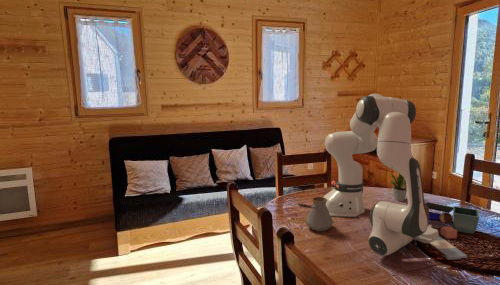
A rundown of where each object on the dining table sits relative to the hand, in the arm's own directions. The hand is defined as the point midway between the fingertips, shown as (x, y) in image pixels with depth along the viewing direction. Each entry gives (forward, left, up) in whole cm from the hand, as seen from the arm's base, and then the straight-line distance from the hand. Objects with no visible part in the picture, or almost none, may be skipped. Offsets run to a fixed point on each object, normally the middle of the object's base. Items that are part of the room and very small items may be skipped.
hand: (417, 222), depth 133 cm
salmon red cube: (+11, -3, -6) cm, 13 cm away
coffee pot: (-40, +10, -6) cm, 41 cm away
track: (+4, -6, -6) cm, 10 cm away
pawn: (+4, +3, -5) cm, 7 cm away
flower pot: (+21, +2, -6) cm, 22 cm away
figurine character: (+16, +15, -6) cm, 23 cm away
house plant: (+15, +41, -6) cm, 44 cm away
